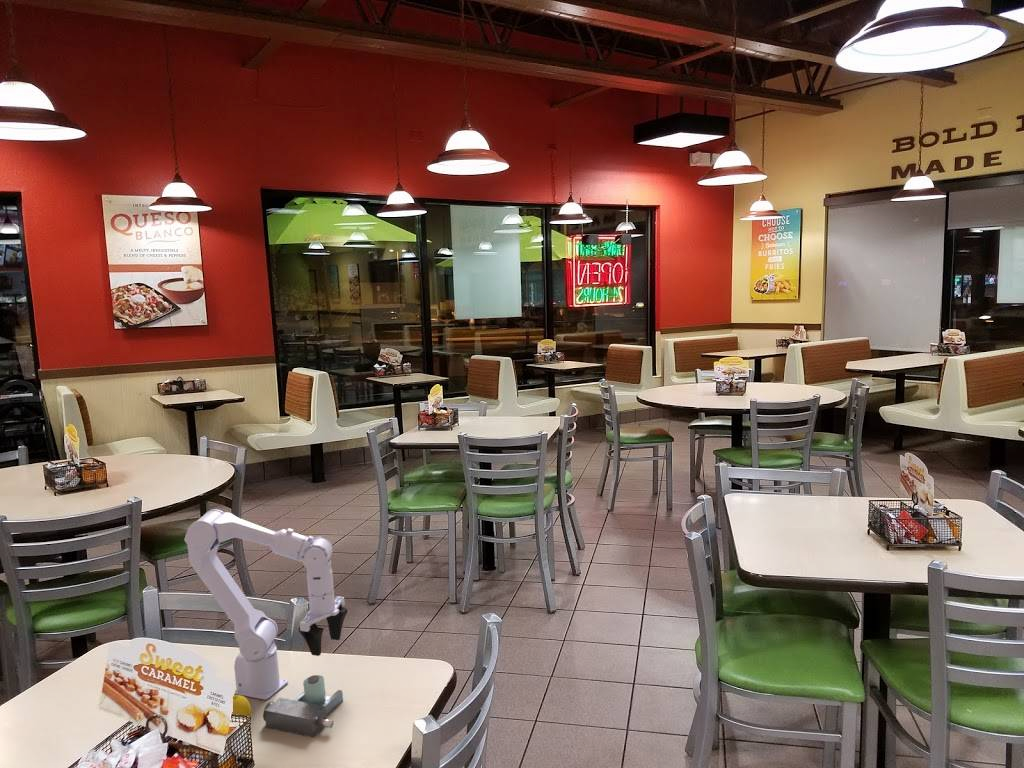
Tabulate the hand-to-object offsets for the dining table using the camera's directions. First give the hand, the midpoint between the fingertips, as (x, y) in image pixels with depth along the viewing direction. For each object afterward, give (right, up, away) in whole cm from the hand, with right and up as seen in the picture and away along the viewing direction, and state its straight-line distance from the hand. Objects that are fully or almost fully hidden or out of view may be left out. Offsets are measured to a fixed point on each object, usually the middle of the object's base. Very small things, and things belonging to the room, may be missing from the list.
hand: (326, 646), depth 168 cm
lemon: (-14, -12, -15) cm, 24 cm away
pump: (0, -10, -8) cm, 13 cm away
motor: (0, -11, -11) cm, 16 cm away
